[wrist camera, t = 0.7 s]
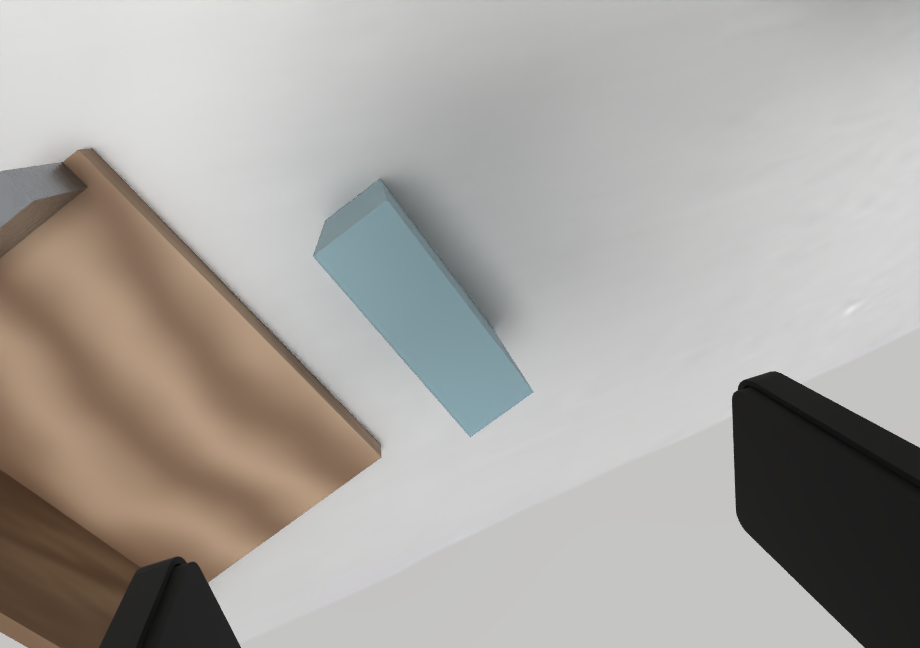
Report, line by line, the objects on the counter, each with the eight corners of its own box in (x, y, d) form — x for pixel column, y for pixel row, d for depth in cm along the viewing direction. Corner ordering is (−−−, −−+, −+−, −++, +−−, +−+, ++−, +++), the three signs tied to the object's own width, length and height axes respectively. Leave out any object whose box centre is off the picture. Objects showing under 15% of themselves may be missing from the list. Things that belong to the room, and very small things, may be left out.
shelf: (91, 148, 28) (-12, 159, 20) (380, 444, 37) (386, 531, 29) (-157, 351, 29) (-344, 435, 22) (180, 589, 39) (135, 709, 31)
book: (379, 178, 31) (386, 199, 23) (493, 329, 36) (533, 392, 27) (325, 220, 32) (313, 256, 23) (444, 364, 36) (470, 437, 28)
